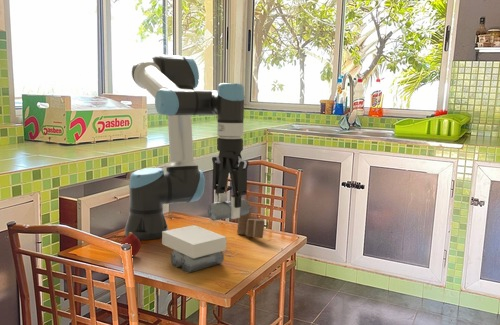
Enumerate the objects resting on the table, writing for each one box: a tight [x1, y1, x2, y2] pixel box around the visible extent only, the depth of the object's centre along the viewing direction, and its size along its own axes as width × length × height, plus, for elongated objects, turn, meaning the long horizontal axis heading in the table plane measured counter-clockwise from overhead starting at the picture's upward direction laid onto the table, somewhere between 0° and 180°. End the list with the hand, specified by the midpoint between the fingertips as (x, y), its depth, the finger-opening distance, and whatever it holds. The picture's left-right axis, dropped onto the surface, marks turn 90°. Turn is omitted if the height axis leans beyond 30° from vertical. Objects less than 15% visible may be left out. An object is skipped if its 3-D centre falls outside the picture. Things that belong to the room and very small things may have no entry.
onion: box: [121, 232, 142, 257], centre depth 149 cm, size 6×6×8 cm
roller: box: [207, 198, 250, 222], centre depth 142 cm, size 5×12×5 cm, turn 133°
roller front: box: [181, 251, 225, 274], centre depth 142 cm, size 5×12×5 cm, turn 133°
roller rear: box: [169, 249, 185, 268], centre depth 146 cm, size 5×12×5 cm
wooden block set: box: [236, 205, 265, 239], centre depth 175 cm, size 18×9×10 cm, turn 12°
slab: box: [161, 224, 227, 258], centre depth 145 cm, size 16×12×4 cm
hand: (228, 216), depth 142 cm, fingers closed on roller, 5 cm apart
